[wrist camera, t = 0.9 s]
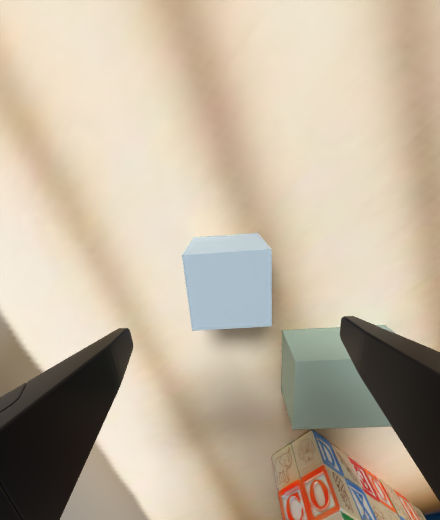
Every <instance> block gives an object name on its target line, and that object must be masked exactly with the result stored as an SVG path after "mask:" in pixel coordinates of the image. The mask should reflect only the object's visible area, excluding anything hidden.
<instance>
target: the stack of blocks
mask: <svg viewBox="0 0 440 520" xmlns="http://www.w3.org/2000/svg"><path fill="white" fill-rule="evenodd" d="M272 462H273V468H274V474H275V479H276V484H277V489H278V498H279V503H280V509H281V514H282V520H426V519H425V517H424V515H423V514H422V512H421V511H420V510H419V509H418V508H416V507H415V506H414V505H412V504H411V503H410V502H409V501H408V500H407V499H406V498H404V497H403V496H402V495H400V494H399V493H398V492H396V491H395V490H394V489H392V488H391V487H390V486H389V485H387V484H386V483H385V482H383V481H382V480H381V479H378V478H376V477H375V476H374V475H372V474H371V473H370V472H368V471H367V470H366V469H364V468H362V467H361V466H360V465H358V464H357V463H356V462H354V461H353V460H352V459H350V458H349V457H348V456H347V455H346V454H345V453H343V452H342V451H341V450H339V449H338V448H337V447H335V446H334V445H333V444H331V443H329V442H328V441H327V440H326V439H324V438H323V437H322V436H320V435H319V434H318V433H316V432H315V431H313V430H311V431H309V432H307V433H306V434H304V435H303V436H301V437H300V438H298V439H297V440H295V441H294V442H292V444H289V445H287V446H286V447H284V448H283V449H282V450H280V451H278V452H277V453H275V454H274V455H273V456H272Z"/></svg>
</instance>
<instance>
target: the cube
mask: <svg viewBox="0 0 440 520" xmlns="http://www.w3.org/2000/svg"><path fill="white" fill-rule="evenodd" d="M182 258H183V265H184V273H185V280H186V287H187V295H188V302H189V310H190V317H191V325H192V331H196V330H214V329H232V328H250V327H268V326H272V252H271V248H270V247H269V246H268V244H267V243H266V242H265V241H264V240H263V239H262V237H261V236H260V235H259V234H258V233H251V234H236V235H222V236H208V237H194V238H193V240H192V241H191V243H190V244H189V246H188V247H187V249H186V250H185V252H184V253H183V255H182Z"/></svg>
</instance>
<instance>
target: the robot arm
mask: <svg viewBox="0 0 440 520" xmlns="http://www.w3.org/2000/svg"><path fill="white" fill-rule="evenodd" d="M340 338H341V341H342V343H343V345H344V347H345V348H346V350H347V352H348V354H349V356H350V358H351V360H352V362H353V364H354V366H355V368H356V370H357V372H358V374H359V375H360V377H361V379H362V380H363V382H364V384H365V385H366V387H367V388H368V390H369V391H370V393H371V395H372V396H373V398H374V399H375V401H376V402H377V404H378V406H379V407H380V409H381V410H382V412H383V413H384V415H385V416H386V418H387V420H388V421H389V423H390V424H391V426H392V427H393V429H394V431H395V432H396V434H397V435H398V437H399V438H400V440H401V442H402V443H403V445H404V446H405V448H406V449H407V451H408V453H409V454H410V456H411V457H412V459H413V460H414V462H415V464H416V465H417V467H418V468H419V470H420V471H421V473H422V475H423V476H424V478H425V479H426V481H427V482H428V484H429V486H430V487H431V489H432V490H433V492H434V493H435V495H436V497H437V498H438V500H439V501H440V352H438V351H436V350H433V349H431V348H428V347H426V346H424V345H421V344H419V343H417V342H414V341H412V340H409V339H407V338H405V337H402V336H400V335H397V334H395V333H393V332H390V331H388V330H385V329H383V328H381V327H378V326H376V325H373V324H371V323H369V322H366V321H364V320H362V319H359V318H357V317H354V316H344V317H342V319H341V326H340ZM132 350H133V341H132V337H131V333H130V330H129V329H128V328H119V329H117V330H115V331H114V332H112V333H110V334H108V335H107V336H105V337H103V338H102V339H100V340H98V341H96V342H95V343H93V344H91V345H89V346H88V347H86V348H84V349H83V350H81V351H79V352H77V353H76V354H74V355H72V356H71V357H69V358H67V359H65V360H64V361H62V362H60V363H59V364H57V365H55V366H53V367H52V368H50V369H48V370H47V371H45V372H43V373H41V374H40V375H38V376H36V377H35V378H33V379H31V380H30V381H28V382H27V383H24V384H22V385H21V386H19V387H17V388H16V389H14V390H12V391H10V392H9V393H7V394H5V395H3V396H2V397H0V520H60V517H61V515H62V513H63V511H64V509H65V507H66V504H67V502H68V500H69V498H70V496H71V493H72V491H73V489H74V487H75V485H76V482H77V480H78V478H79V476H80V474H81V471H82V469H83V467H84V465H85V463H86V460H87V458H88V456H89V454H90V451H91V449H92V447H93V445H94V443H95V440H96V438H97V436H98V434H99V432H100V429H101V427H102V425H103V423H104V421H105V418H106V416H107V414H108V412H109V410H110V407H111V405H112V403H113V401H114V399H115V396H116V394H117V392H118V390H119V387H120V385H121V382H122V380H123V377H124V374H125V371H126V368H127V365H128V362H129V359H130V356H131V353H132Z"/></svg>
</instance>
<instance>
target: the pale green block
mask: <svg viewBox="0 0 440 520" xmlns="http://www.w3.org/2000/svg"><path fill="white" fill-rule="evenodd" d="M376 326H378V327H381V328H383V329H385V330H388V331H390V332H393V331H392V330H391V329H389V328H388V327H387V326H386V325H376ZM393 333H394V332H393ZM281 391H282V394H283V398H284V401H285V405H286V408H287V412H288V415H289V418H290V422H291V425H292V429H293V430H297V429H327V428H357V427H387V426H391V424H390V423H389V421H388V420H387V418H386V416H385V415H384V413H383V412H382V410H381V409H380V407H379V406H378V404H377V402H376V401H375V399H374V398H373V396H372V395H371V393H370V391H369V390H368V388H367V387H366V385H365V384H364V382H363V380H362V379H361V377H360V375H359V374H358V372H357V370H356V368H355V366H354V364H353V362H352V360H351V358H350V356H349V354H348V352H347V350H346V348H345V347H344V345H343V343H342V341H341V338H340V327H336V328H317V329H298V330H282V374H281Z"/></svg>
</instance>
